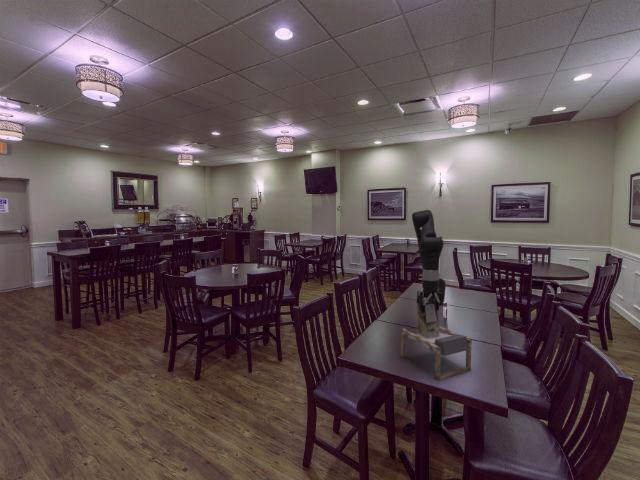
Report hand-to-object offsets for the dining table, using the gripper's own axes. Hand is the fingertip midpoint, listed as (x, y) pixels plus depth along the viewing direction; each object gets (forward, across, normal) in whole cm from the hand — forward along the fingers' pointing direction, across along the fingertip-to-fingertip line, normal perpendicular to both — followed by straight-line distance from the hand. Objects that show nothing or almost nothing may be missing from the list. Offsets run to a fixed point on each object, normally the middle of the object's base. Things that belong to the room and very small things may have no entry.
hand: (429, 311), depth 148 cm
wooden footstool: (+25, 0, +4) cm, 25 cm away
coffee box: (+12, 0, 0) cm, 13 cm away
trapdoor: (+16, 0, +6) cm, 17 cm away
